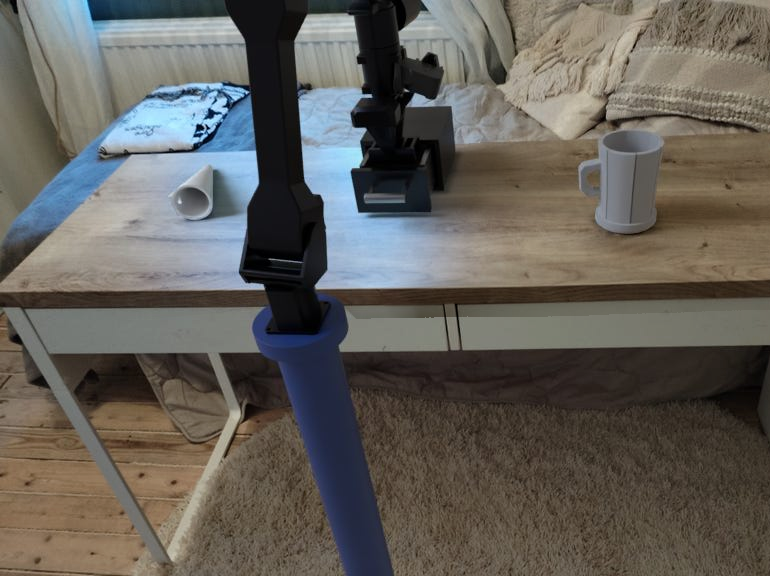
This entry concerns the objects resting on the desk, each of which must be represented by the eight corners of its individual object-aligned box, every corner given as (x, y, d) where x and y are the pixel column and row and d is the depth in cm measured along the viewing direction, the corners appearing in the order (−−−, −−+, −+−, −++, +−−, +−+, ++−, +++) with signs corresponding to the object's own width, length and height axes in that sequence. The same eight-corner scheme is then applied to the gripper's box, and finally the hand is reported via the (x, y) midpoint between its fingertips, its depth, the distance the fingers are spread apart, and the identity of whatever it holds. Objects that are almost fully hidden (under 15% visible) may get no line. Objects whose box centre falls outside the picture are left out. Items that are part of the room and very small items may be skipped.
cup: (616, 246, 98) (621, 164, 90) (572, 222, 104) (574, 143, 96) (669, 221, 102) (678, 141, 95) (624, 200, 108) (630, 123, 101)
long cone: (245, 176, 128) (218, 216, 112) (211, 182, 128) (179, 223, 112) (234, 145, 125) (204, 181, 109) (199, 151, 125) (164, 188, 109)
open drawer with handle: (426, 226, 104) (421, 183, 99) (351, 226, 105) (342, 184, 101) (443, 174, 117) (439, 134, 113) (377, 174, 119) (370, 135, 114)
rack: (421, 150, 109) (419, 135, 108) (415, 164, 106) (413, 149, 104) (377, 151, 110) (374, 136, 109) (370, 165, 106) (367, 150, 105)
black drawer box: (444, 190, 115) (438, 139, 109) (368, 191, 116) (359, 141, 111) (455, 153, 126) (451, 105, 120) (386, 155, 127) (379, 107, 122)
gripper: (425, 62, 89) (437, 177, 99) (446, 23, 104) (455, 127, 113) (340, 65, 91) (360, 178, 101) (372, 26, 105) (387, 128, 115)
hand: (394, 151), depth 107 cm, fingers closed on rack, 5 cm apart
